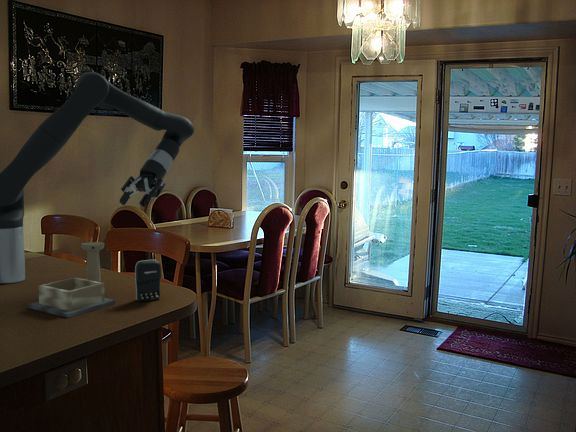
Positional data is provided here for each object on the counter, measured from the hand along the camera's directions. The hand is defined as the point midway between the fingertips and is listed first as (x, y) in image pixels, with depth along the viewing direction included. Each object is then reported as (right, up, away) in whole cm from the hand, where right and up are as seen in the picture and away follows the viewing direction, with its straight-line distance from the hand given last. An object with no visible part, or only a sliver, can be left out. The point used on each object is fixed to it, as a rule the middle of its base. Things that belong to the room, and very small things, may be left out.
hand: (131, 204), depth 188 cm
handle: (-8, -27, -10) cm, 30 cm away
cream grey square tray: (-10, -28, -23) cm, 38 cm away
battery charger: (+9, -28, -16) cm, 33 cm away
